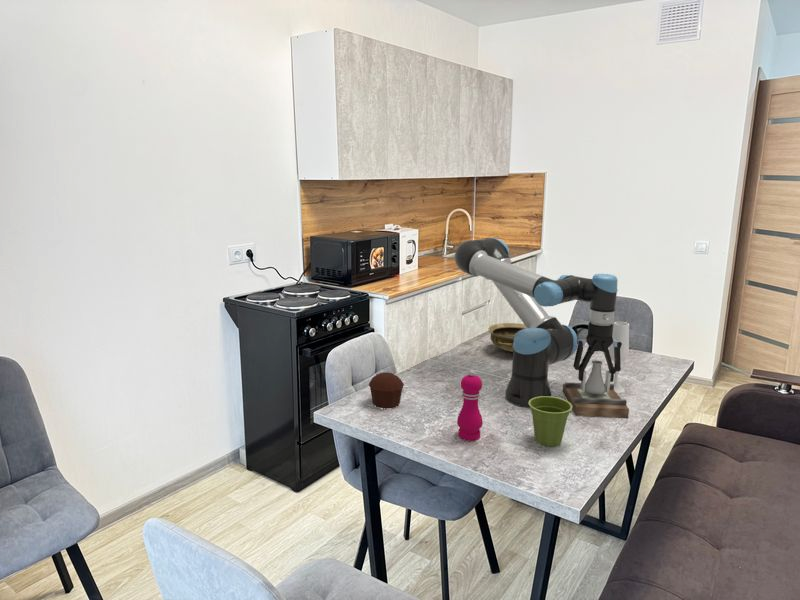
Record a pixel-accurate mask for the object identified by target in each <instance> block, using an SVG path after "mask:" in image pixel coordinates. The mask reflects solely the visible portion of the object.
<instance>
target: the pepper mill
mask: <svg viewBox="0 0 800 600" xmlns="http://www.w3.org/2000/svg"><path fill="white" fill-rule="evenodd" d="M482 382H483V381H482V379H481V377H479V376H478V375H476V372H475V371H474V370H473V369H470V370H469V371H468V374H466V375H465V376H463V377H462V378H461V380H460V388H461V390H462V391H461V396H462V398H463V400H462V401H463V403H462V406H461V409H460V412H459V413H458V415H457V418H456V419H457V420H456V424H457V426H458V427H459V428H458V431H457V433H458V437H459V439H461V440H464V441H467V440H468V442H473V441H474V440H475V441H478V440H479V439H480V438H481V430H480V429H481V428H482V427H483V417H482V414H481V412H480V408H479V399H480V398H481V392H480V391H481V390H482V387H483V383H482ZM477 439H478V440H477Z"/></svg>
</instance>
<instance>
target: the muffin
mask: <svg viewBox="0 0 800 600" xmlns="http://www.w3.org/2000/svg"><path fill="white" fill-rule="evenodd" d="M404 385H405V384H404V382H403V380H402V379H401V378H400V377H399V376H398V375H396V374H394V373H392V372H389V371H387V372H379V373H377V374H376V375H373V377H372V378H371V379H370V381H369V383H368V386H369V388H370V396H371V401H372V405H374V407H375V408H378V407H379V408H380V409H382V408H383V410H384V408H385V410H386V408H392V409H395V408H397V407H399V405H400V403H401V399H402V395H403V394H402V393H403V388H404ZM396 406H397V407H396ZM379 408H378V409H379Z"/></svg>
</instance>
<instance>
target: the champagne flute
mask: <svg viewBox="0 0 800 600" xmlns="http://www.w3.org/2000/svg"><path fill="white" fill-rule="evenodd" d="M612 338H613V340H619V341H620V342H621V343H622V345H621V348H620V362H621V364H622V363H623V362H626V360H627V359H628V357H629V356H630V323H628V322H624V321H614V323H613V335H612ZM608 349H609V353H610V357H611V360H612V362H614V346H613V343H612V344H611V346H610V347H609V348H608ZM618 380H619V371H617V372H615V374H614V379H613V383H612V384H613V385H614V391H615V392H616V393H617V394H622V393H625V392H626V391H625V388H623V387H621V386H620V385H619V384H618Z"/></svg>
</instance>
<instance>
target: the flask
mask: <svg viewBox="0 0 800 600" xmlns="http://www.w3.org/2000/svg"><path fill="white" fill-rule="evenodd" d="M591 363H592V368H591V371H590V374H589V376H588V378H587V379H586V382H585V392H588V393H592V394H604V393H606V389H605V386H604V384H605V381H604V379H603V375H602V365H603V362H602V361H600V360H592V361H591Z"/></svg>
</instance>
